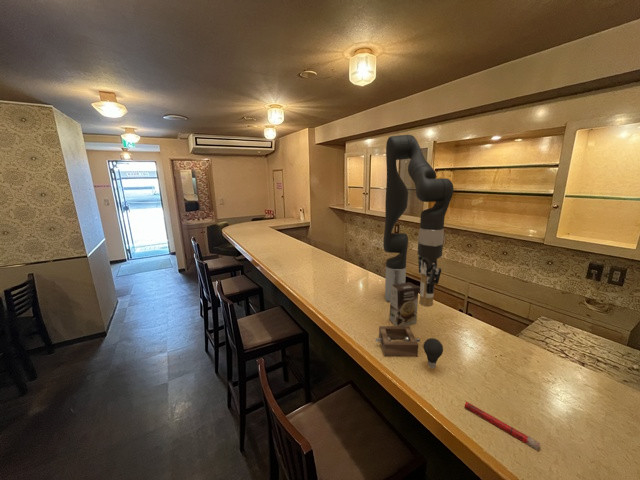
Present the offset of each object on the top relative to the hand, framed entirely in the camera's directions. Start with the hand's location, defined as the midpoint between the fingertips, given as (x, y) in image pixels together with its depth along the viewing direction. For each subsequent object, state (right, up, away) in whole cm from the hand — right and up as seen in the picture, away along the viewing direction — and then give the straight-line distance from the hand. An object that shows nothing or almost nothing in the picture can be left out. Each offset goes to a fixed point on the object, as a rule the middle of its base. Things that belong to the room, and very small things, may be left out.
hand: (426, 289), depth 88 cm
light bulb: (-1, -24, -6) cm, 24 cm away
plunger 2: (-4, -20, +4) cm, 20 cm away
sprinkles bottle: (0, -5, +1) cm, 6 cm away
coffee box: (-2, -17, +20) cm, 26 cm away
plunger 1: (-14, -20, +4) cm, 25 cm away
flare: (+7, -28, -25) cm, 39 cm away
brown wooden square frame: (-9, -21, +4) cm, 23 cm away
